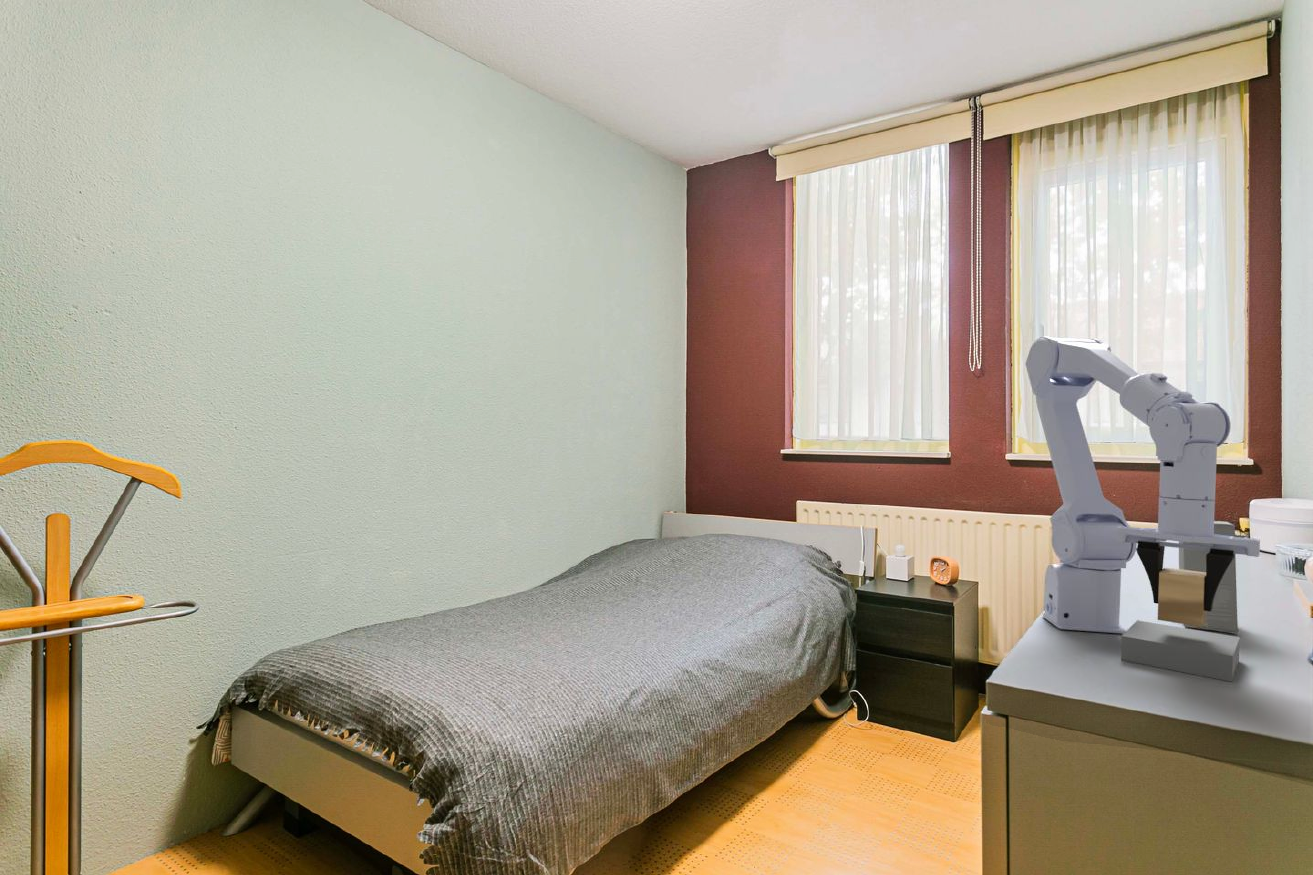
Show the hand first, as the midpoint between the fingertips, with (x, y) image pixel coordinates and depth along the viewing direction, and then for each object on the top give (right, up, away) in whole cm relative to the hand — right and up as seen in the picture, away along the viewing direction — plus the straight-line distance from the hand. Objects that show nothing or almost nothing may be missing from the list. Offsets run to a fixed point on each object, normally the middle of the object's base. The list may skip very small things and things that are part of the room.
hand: (1182, 605), depth 92 cm
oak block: (0, -2, 0) cm, 2 cm away
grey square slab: (0, -7, 0) cm, 7 cm away
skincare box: (+16, -7, +18) cm, 26 cm away
